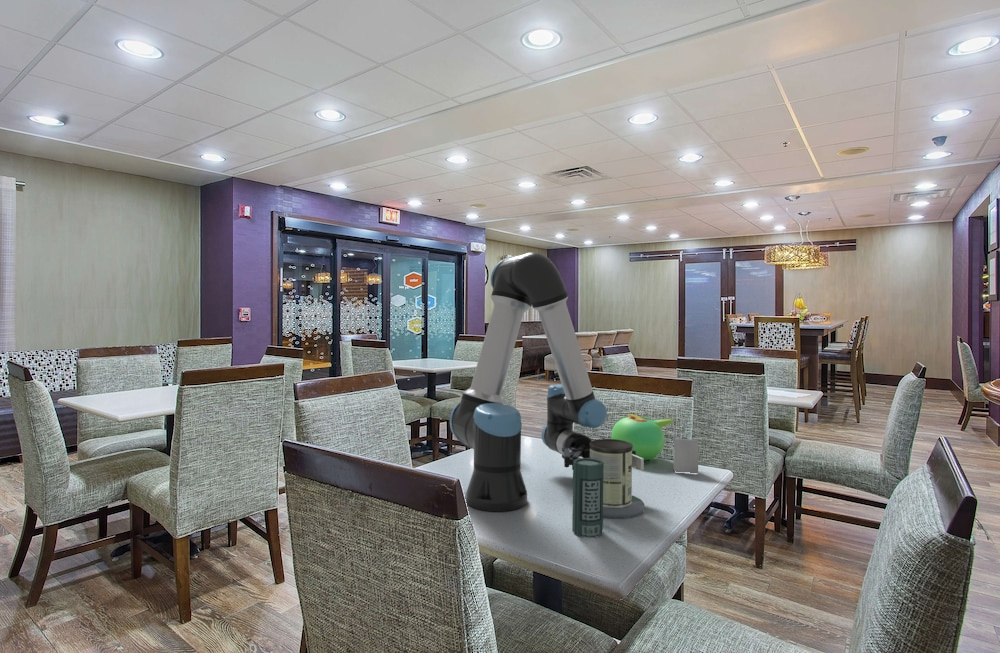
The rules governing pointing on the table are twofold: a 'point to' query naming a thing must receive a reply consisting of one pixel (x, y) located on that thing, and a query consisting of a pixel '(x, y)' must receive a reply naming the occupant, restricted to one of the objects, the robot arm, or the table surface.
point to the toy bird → (641, 434)
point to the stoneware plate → (625, 510)
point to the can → (587, 497)
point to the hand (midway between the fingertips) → (618, 466)
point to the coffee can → (614, 471)
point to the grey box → (685, 455)
